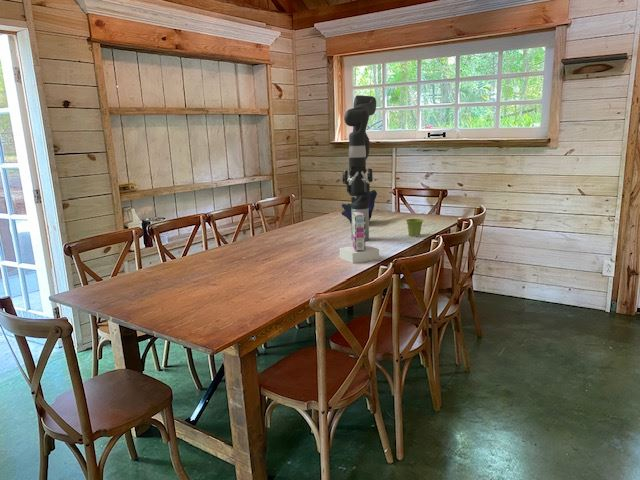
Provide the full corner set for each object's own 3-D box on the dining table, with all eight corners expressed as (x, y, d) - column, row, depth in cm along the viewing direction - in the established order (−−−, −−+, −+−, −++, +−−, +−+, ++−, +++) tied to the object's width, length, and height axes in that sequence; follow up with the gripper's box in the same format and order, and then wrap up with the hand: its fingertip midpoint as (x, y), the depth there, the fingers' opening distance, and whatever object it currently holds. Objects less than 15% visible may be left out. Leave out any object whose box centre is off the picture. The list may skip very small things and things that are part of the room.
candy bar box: (366, 251, 212) (365, 215, 209) (355, 251, 212) (354, 215, 209) (363, 245, 223) (362, 211, 220) (352, 246, 223) (351, 211, 220)
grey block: (339, 258, 221) (339, 248, 220) (365, 254, 227) (365, 244, 226) (352, 264, 211) (352, 253, 210) (379, 259, 217) (378, 249, 216)
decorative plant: (349, 240, 297) (347, 219, 324) (387, 224, 292) (382, 204, 318) (335, 213, 288) (334, 194, 315) (374, 196, 283) (370, 178, 309)
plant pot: (424, 234, 264) (425, 218, 262) (420, 237, 256) (421, 222, 254) (408, 233, 268) (408, 218, 266) (404, 236, 260) (404, 221, 258)
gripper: (366, 155, 215) (367, 190, 218) (339, 156, 209) (340, 193, 213) (375, 155, 208) (375, 192, 212) (347, 157, 202) (348, 194, 206)
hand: (357, 192), depth 212 cm, fingers open, 8 cm apart
